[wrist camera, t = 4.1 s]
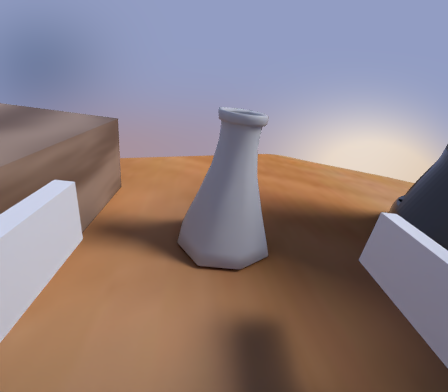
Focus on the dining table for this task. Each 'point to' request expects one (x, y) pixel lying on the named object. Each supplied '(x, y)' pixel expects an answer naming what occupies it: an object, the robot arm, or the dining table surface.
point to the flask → (229, 199)
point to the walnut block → (58, 156)
